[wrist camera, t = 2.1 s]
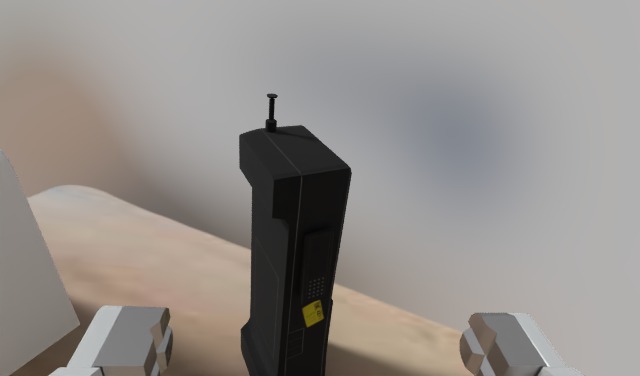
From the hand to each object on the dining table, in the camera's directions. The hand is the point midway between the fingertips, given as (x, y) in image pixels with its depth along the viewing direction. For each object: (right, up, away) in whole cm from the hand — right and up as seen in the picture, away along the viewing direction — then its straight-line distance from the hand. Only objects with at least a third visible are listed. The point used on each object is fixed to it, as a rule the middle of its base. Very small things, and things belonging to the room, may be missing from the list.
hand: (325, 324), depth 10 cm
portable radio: (-4, -13, +24) cm, 28 cm away
